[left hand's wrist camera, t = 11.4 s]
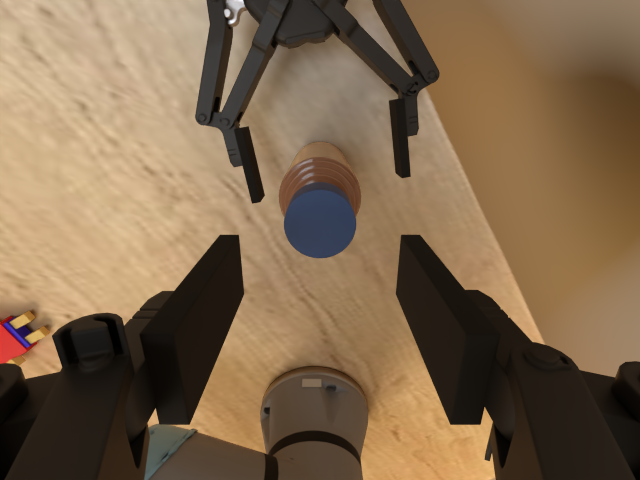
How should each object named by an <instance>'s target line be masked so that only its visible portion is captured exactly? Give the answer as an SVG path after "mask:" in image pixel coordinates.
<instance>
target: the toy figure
mask: <svg viewBox="0 0 640 480" xmlns="http://www.w3.org/2000/svg"><path fill="white" fill-rule="evenodd" d="M35 318H36V317H35V316H34V315H33V314H32V313H31V312H30V311H28V312H26V313H24V314H22V315H20V316H19V317H14V318H12V317H11V316H10V317H8V318H6V319H4V320H2V321H1V322H0V364H1V363H12V364H16V365H18V366H19V365H20V364H22V363H23V362H24V361H26V360H25V359H24V358H23V357H22V356H21V354H23V353H25V352H27V351H28V350H30V349H31V348H32V347H33V346H34V345H36V344H37V342H36V341H37V340H39V339H41V338H43V337H45V336H46V335H47V334H49V333H50V332H49V331H48V330H47V329H46V328H45V327H44V326H43V327H41V328H39V329H37V330H35V331H34V332H32V333H31V332H30V331H29V330H28V329H27V328H26V327H25V326H24V325H25V324H27V323H29V322H30V321H32V320H33V319H35Z"/></svg>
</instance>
